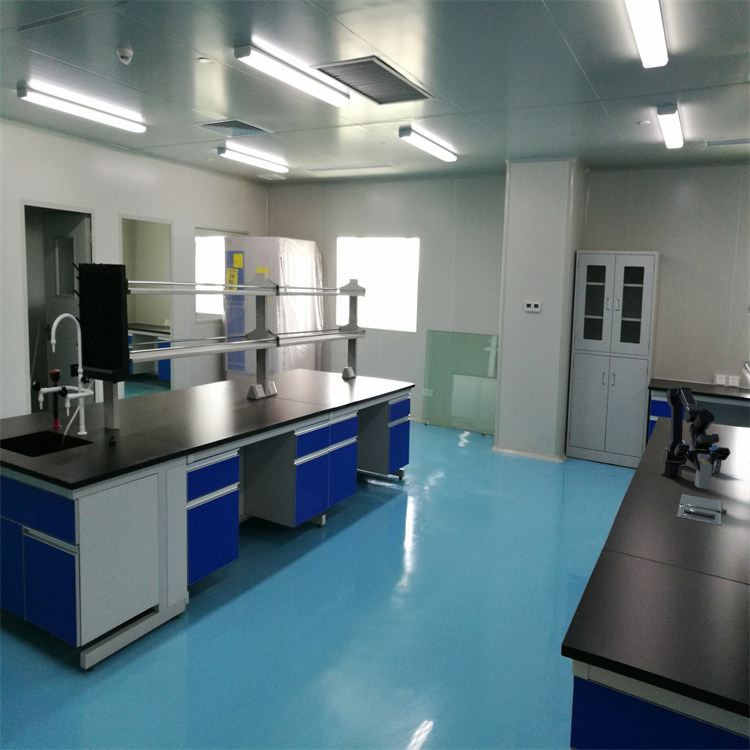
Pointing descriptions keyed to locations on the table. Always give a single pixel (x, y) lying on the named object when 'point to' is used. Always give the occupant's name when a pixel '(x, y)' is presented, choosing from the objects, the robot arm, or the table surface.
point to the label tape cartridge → (716, 464)
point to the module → (703, 475)
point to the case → (700, 509)
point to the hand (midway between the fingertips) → (705, 471)
